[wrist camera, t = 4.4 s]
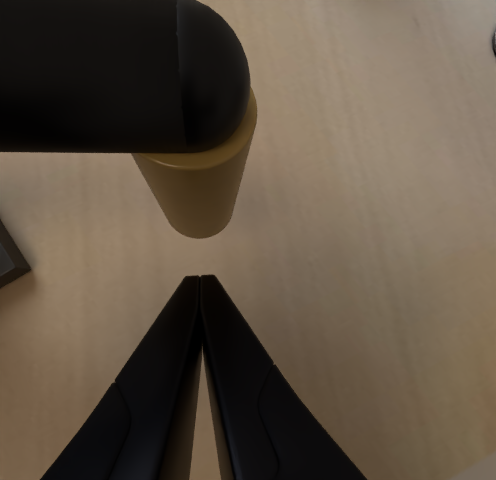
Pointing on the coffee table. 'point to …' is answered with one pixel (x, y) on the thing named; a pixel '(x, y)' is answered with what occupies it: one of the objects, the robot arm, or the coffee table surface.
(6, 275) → the tap column
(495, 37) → the cup
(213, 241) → the coffee table surface
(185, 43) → the spout
